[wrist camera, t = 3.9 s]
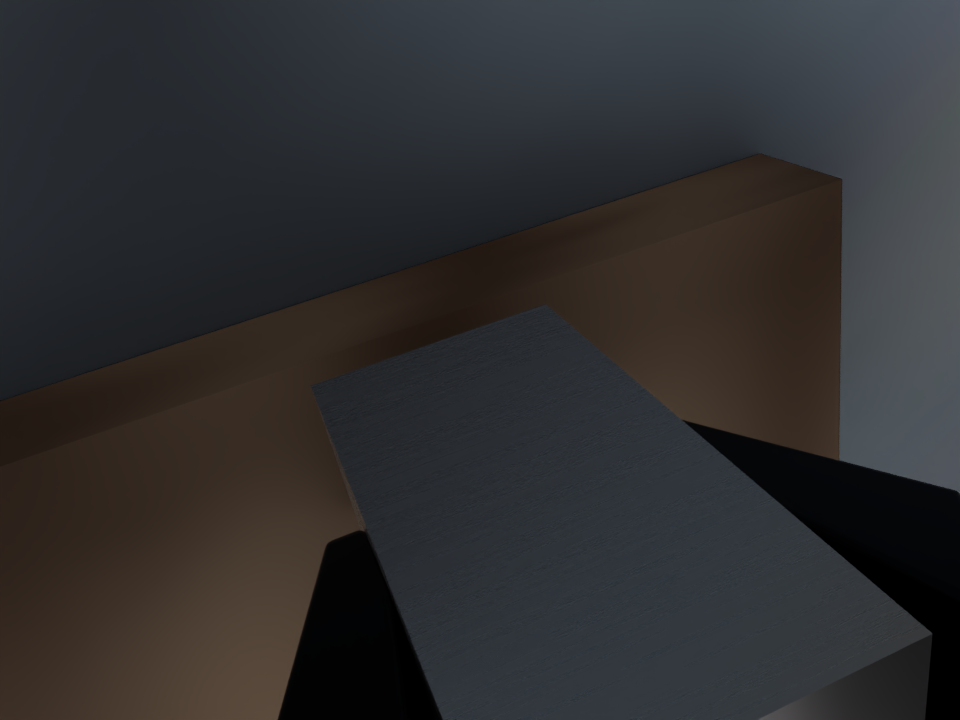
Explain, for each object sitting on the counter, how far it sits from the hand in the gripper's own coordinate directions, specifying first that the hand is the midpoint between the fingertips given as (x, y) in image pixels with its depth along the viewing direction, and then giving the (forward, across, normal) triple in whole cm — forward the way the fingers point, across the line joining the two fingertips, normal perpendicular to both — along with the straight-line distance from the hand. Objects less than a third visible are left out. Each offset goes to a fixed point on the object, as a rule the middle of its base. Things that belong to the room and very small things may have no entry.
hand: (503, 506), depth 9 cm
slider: (+3, 0, +6) cm, 7 cm away
